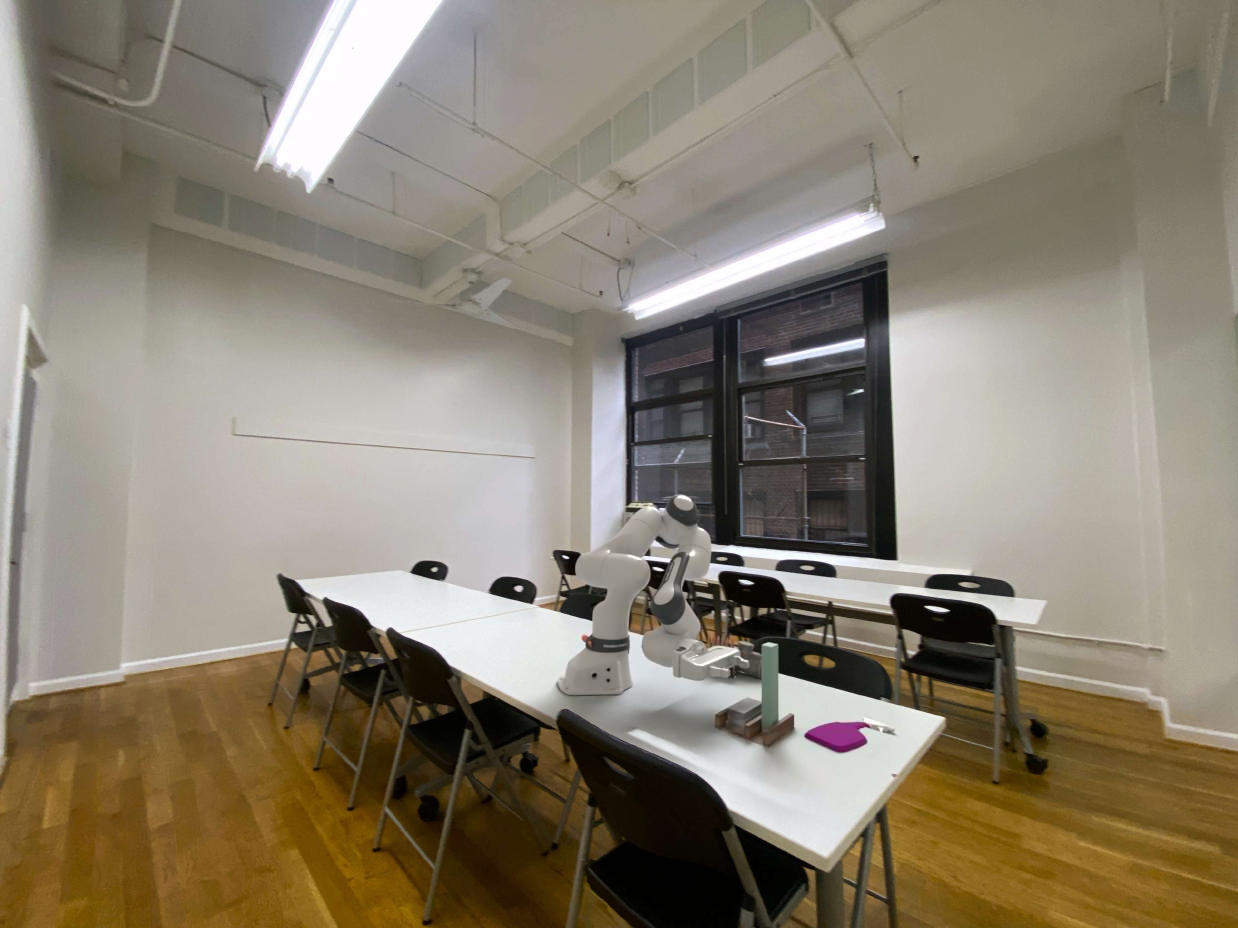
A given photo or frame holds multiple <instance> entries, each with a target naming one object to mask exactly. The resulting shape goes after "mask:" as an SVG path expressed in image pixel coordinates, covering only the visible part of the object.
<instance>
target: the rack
mask: <svg viewBox="0 0 1238 928" xmlns="http://www.w3.org/2000/svg"><path fill="white" fill-rule="evenodd" d="M738 702H739V701H737V702H736V703H738ZM736 703H733V704H732V705H734V704H736ZM727 708H728V707H726V708H724V709H722V710H721V711H718V712H717V713H715V714H714V717H715V718H714V719H715V720H714V728H715V729H718V730H721V731H723V732H727V733H729V734H731V735H734V736H737V737H739V738H742V739H743V740H744V739H745V740H746V741H750V742H752V743H755V744H758V745H760V746H762V747H765V748H770V747H772V746H773V745H774V744H775V743H777V742H778V741H779V740H781V739H782V738H784V737H785V736H786V735H788V734H789V733H790V732H792V731H793V730H795V729H796V727H795V714H794V713H791V712H790V713H788V714H787V715H785V716H783V717H782V718H781V719H779V721H778V722H776V723H775V724H773V725H772V726H770V727H769V728H767V729H766V730H764V731H763V734H762V714H761V715H760V716H758V717H756V718H755V719H753V720H751V721H750V722H748V723H747V724H745V735H743V734H740V733H738V732H735V731H732V730H729V729H727V728H725V721H727V720H728V715H727Z"/></svg>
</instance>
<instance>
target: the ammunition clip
mask: <svg viewBox="0 0 1238 928" xmlns="http://www.w3.org/2000/svg"><path fill="white" fill-rule="evenodd" d="M706 642H707V644H706V648H707V649H708V648H711V647H713V646H725V647H730V648H734V646H735V642H734V639H733V638H731V639H729V637H727V636H726V640H725V638H724V636H721V638H720V635H717V636H715V634H714V633H713V634H712V637H711V633H710V632H709V633H708V635H707V641H706ZM728 669H729V670H730V677H735V676H736V677H737V671H736V665H735V666H733V667H731V668H728ZM730 677H729V678H730ZM736 677H735V678H736Z"/></svg>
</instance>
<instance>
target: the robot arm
mask: <svg viewBox="0 0 1238 928" xmlns="http://www.w3.org/2000/svg"><path fill="white" fill-rule="evenodd" d="M697 508H698V507H697V504H696V503H695V501H694V500H693V499H692V498H691V497H689V496H687V495H685V494H674V495H673V496H671V498H670V499H669V500H668V501H667V503H666V505H665V508H664V510H663V511H659V510H658V509H657V508H655V507H653V506H644V507H641V508H640V509H639V510H638V511H636V512H635V513H634V514H633V515H632V516H631V517H630V518H629V519H628V521H626V523H625V525H624V526H623V527H622V528H621V529H620V530H619V531H618V533H617V534H615V536H614V537H612V538H611V539H610V540H608V541H607V542H605V543H604V544H602V545H600V546H598V547H597V548H595V549H592V550H590V551H588V552H584V553H582V554H581V555H579V557H578V558H577V560H576V562H575V565H574V566H575V570H574V571H575V575H576V578H577V579H578V581H580V582H581V583H583V584H585V585H588V586H590V587H593V588H601V589H606V590H607V591H606V592H607V593H606V596H605V599H604V600H603V601H600V602H599V603H597V604H596V605H595V606H594V608H593V611H592V623H591V624H592V627H591V628H592V629H591V631H592V632H591V634H590V635H588V634H585V633H584V634H582V636H581V640H582V641H583V643H585V647H584V648H583V649H582V650H581V651H579V652H577V654H576V655H574V656H573V657H571V659H569V660H568V662H567V664H566V665H567V666H566V669H565V675H560V676H559V677H558V679H557V687H558V688H559V690H560V691H561V692H562V693H564V694H565V695H568V696H588V695H589V696H591V695H593V696H594V695H595V696H596V695H598V696H599V695H621V694H622V693H624V691H625V690H627V689H630V688H631V687H632V686H633V680H632V675H631V670H630V660H629V654H630V647H631V640H630V635H629V622H630V611H631V609H632V605H633V603H634V599H635V598H636V597H637V595H638V594H639V593H640V592H641V591H643V590H644V589H645V588H646V587H647V586H648V584H649V582H650V580H651V569H650V566H649V563H648V562H647V560H646V559H645V558H644V556H645V555H646V554H647V552H648V550H649V549H650V548H651V546H652V545H653V544H654V542H656V543H658V544H659V545H661V546H662V547H664V548H666V549H670V550H675V549H677V553H675V554H674V555H673V556H672V557H671V558H670V559H669V562H668V564H667V567H666V570H665V573H664V575H663V578H662V580H661V583H660V585H659V587H658V589H657V590H656V592H655V593H654V595H653V596H652V599H651V601H650V612H651V614H652V615H653V616H654V617H655V619H656V620H657V621H658V622H659V623H660V624H661V625H660V626H658V627H656V628H655V629H652V630H649V631H646V632H645V633H644V634H643V636H642V640H641V649H642V653H643V655H644V657H645V658H646V659H647V660H648V661H650V662H652V663H654V664H656V665H659V666H662V667H664V668H672V676H673V677H675V678H679V679H680V678H683V679H686V680H689V681H690V680H691V681H696V682H697V681H698V682H700V681H701V682H702V681H704V680H706V679H709V678H710V677H712V678H713V677H714V678H717V677H718V678H723V679H728V678H730V677H729V676H730V670H729V669H728V668H731V667H733V666H735V665H739V666H740V668H744V669H746V668H749V661H748V660H744V659H742V658H741V654H740V651H739V650H738V649H735V648H730V646H729V647H725V646H726V645H725V646H721V645H720V646H713V647H711V648H708V649H707V646H706V645H705V643H704V642H703V641H701V640H698V637H699V636H700V633H701V630H702V629H701V627H702V626H701V622H700V620H699V618H698V616H697V615H696V614H695V612H694V611H693V609H692V608H691V605H689V603H688V602H687V599H686V597H685V596H684V592H683V586H684V583H685V581H690V582H691V581H692V582H694V581H699V580H701V579H703V578H705V577H706V575H707V573H708V571H709V569H710V565H711V559H712V558H711V557H712V539H711V536H710V534H709V532H707V530H705V529H703V528H702V527H699V526H698V523H699V522H700V516H699V514H698V509H697Z"/></svg>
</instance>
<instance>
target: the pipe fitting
mask: <svg viewBox="0 0 1238 928" xmlns="http://www.w3.org/2000/svg"><path fill="white" fill-rule="evenodd" d="M734 648H735V649H738V650H739V651H740V654H741V658H742V659H744V660H748V661H749V668H746V669H744V668H740V666H739V665H736V672H741V673H744V674H746V675H750V676H752V677H754V678H759V679H762V653H759V652H756V651H754V650H753V649H754V648H755V645H754V644H753V643H752V642H748V641H745V640H739V641H738V642H737V646H736V645H734Z"/></svg>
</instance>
